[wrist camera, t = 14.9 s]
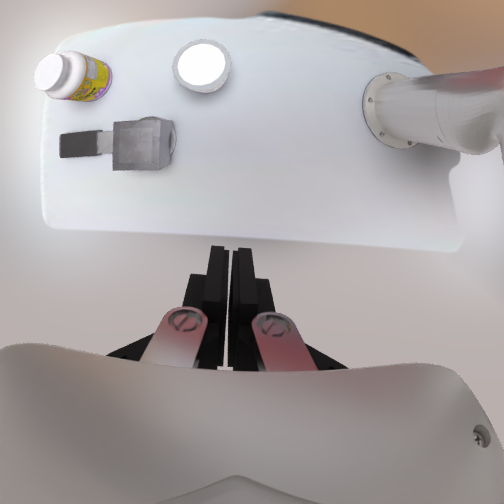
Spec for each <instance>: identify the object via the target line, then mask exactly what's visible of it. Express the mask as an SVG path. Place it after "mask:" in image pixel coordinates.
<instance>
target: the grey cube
mask: <svg viewBox="0 0 504 504" xmlns="http://www.w3.org/2000/svg"><path fill="white" fill-rule="evenodd" d="M171 132H172V121H169V120H139V121H121V122H114V127H113V170H160V169H162V168H163V167H165V166H167V165H168V164H170V149H171Z"/></svg>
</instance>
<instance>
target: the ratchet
mask: <svg viewBox="0 0 504 504" xmlns="http://www.w3.org/2000/svg"><path fill="white" fill-rule="evenodd" d="M140 120H165V119H163V118H159V117H145V118H142V119H140ZM138 121H139V120H138ZM175 145H176V133H175V130H174V128H173V126H172V132H171V149H170V155H171V154H172V152H173V151H174V148H175ZM102 153H113V131H108V132H102V130H96V131H85V132H76V133H68V134H60V136H59V156H60V158H68V157H82V156H97V155H101V154H102Z"/></svg>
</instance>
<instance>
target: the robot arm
mask: <svg viewBox="0 0 504 504" xmlns="http://www.w3.org/2000/svg"><path fill="white" fill-rule="evenodd" d="M386 78H387V79H386ZM368 100H369V102H368ZM363 110H364V116H365V119H366V122H367V124H368V126H369V128H370V130H371V131H372V132H373V134H374V135H375V136H376V137H377V138H378V139H379V140H380V141H381V142H383V143H384V144H386V145H388V146H390V147H394V148H398V149H406V148H410V147H413V146H415V145H416V144H418V143H424V144H429V145H434V146H438V147H443V148H447V149H451V150H455V151H459V152H463V153H467V154H472V155H480V154H485V153H487V152H489V151H491V150H493V149H494V148H495V147H497V146H498V145H499V144H500V146H501V152H502V159H503V163H504V66H502V67H497V68H493V69H487V70H481V71H471V72H461V73H450V74H441V75H431V76H424V77H417V78H411V79H409V78H408V77H406V76H404V75H401V74H398V73H385V74H381V75H379V76H377V77H375V78H374V79H373V80H372V81H371V82H370V83H369V84H368V86H367V88H366V90H365V93H364V98H363ZM228 268H229V250H224V246H212V247H211V252H210V258H209V263H208V270H207V275H201V274H191V275H190V278H189V282H188V285H187V289H186V293H185V297H184V301H183V305H182V307H177V308H174V309H172V310H170V311H168V312H167V313H166V314H165V315H164V317H163V319H162V321H161V322H160V324H159V326H158V328H157V330H156V331H155V333H153V334H151V335H149V336H146V337H145V338H142V339H140V340H138V341H136V342H133V343H131V344H129V345H127V346H125V347H122V348H120V349H118V350H116V351H114V352H111V353H109V354H108V355H106V356H103V355H98V354H94V353H89V352H85V351H79V350H74V349H70V348H65V347H61V346H56V345H49V344H40V343H23V344H14V345H10V346H6V347H4V348H3V349H0V504H504V449H503V447H502V445H501V442H500V440H499V438H498V436H497V434H496V432H495V430H494V428H493V426H492V424H491V422H490V420H489V418H488V417H487V415H486V413H485V411H484V410H483V408H482V406H481V405H480V403H479V402H478V400H477V399H476V397H475V395H474V394H473V392H472V391H471V390H470V388H469V387H468V385H467V384H466V383H465V382H464V381H463V379H462V378H461V377H460V376H459V375H458V374H457V373H456V372H454V371H453V370H451V369H449V368H446V367H443V366H439V365H434V364H426V363H402V364H393V365H383V366H373V367H363V368H352V369H349V368H347V367H346V366H344V365H343V364H340V363H339V362H337V361H335V360H334V359H332V358H330V357H328V356H327V355H325V354H323V353H321V352H319V351H318V350H316V349H314V348H312V347H311V346H309V345H307V344H305V343H304V341H303V339H302V337H301V335H300V333H299V331H298V329H297V328H296V325H295V324H294V322H293V321H292V320H291V319H290V318H289V317H287V316H285V315H283V314H281V313H276V312H275V307H274V302H273V297H272V293H271V288H270V283H269V280H268V279H259V278H255V273H254V266H253V258H252V250H251V249H250V248H238V251H233V258H232V270H231V282H230V295H229V308H228V367H233V371H227V370H217V366H223V359H224V344H225V343H224V342H225V328H226V315H227V298H228V297H227V296H228Z"/></svg>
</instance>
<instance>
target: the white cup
mask: <svg viewBox="0 0 504 504" xmlns="http://www.w3.org/2000/svg"><path fill="white" fill-rule="evenodd" d="M230 66H231V59H230V55H229V52H228V51H227V50H226V48H225V47H224V46H223V45H222V44H220V43H218V42H216V41H214V40H206V39H200V40H196V41H192V42H190V43H188V44H187V45H185V46H184V47H182V48H181V49H180V50H179V51H178V53H177V54H176V56H175V57H174V61H173V65H172V69H173V74H174V77H175V78H176V80H177V81H178V82H179V83H180V85H182V86H184V87H186V88H188V89H190V90H193V91H197V92H202V93H209V92H214V91H216V90H217V89H219V88H221V87H222V85H223V84H224V83H225V81H226V79H227V77H228V74H229V70H230Z"/></svg>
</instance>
